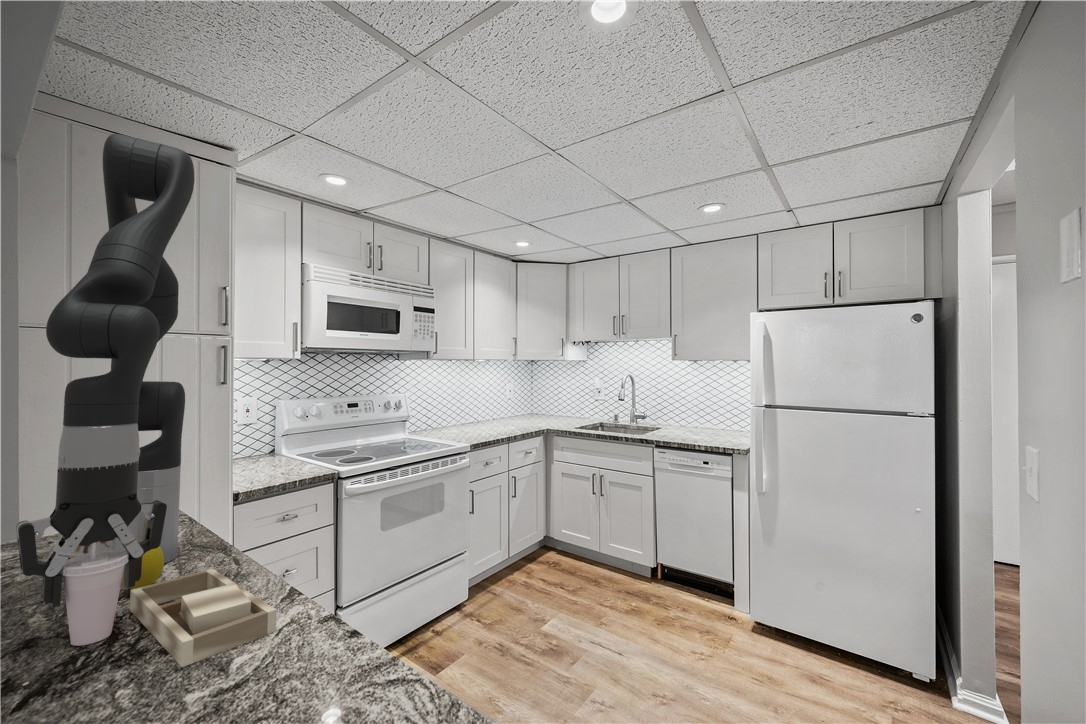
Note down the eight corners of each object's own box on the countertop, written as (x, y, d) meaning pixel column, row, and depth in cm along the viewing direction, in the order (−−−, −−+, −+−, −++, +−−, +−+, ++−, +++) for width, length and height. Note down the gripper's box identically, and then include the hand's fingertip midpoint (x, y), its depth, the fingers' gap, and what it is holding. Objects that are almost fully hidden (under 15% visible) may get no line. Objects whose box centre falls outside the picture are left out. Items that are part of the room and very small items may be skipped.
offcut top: (180, 611, 63) (181, 596, 63) (233, 597, 67) (234, 583, 67) (193, 634, 57) (193, 617, 57) (250, 617, 61) (250, 601, 61)
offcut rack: (129, 619, 67) (130, 589, 67) (211, 594, 75) (212, 568, 75) (181, 679, 54) (183, 642, 54) (275, 641, 62) (276, 609, 62)
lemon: (110, 601, 72) (113, 547, 73) (126, 587, 77) (128, 536, 78) (155, 595, 74) (158, 543, 75) (168, 582, 80) (170, 533, 80)
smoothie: (39, 654, 56) (46, 532, 56) (80, 627, 62) (86, 517, 63) (103, 648, 57) (109, 529, 58) (137, 622, 63) (142, 515, 64)
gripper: (161, 451, 69) (156, 570, 68) (12, 464, 57) (3, 607, 56) (178, 456, 64) (173, 584, 63) (20, 472, 53) (11, 627, 52)
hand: (93, 594), depth 60 cm, fingers closed on smoothie, 6 cm apart
